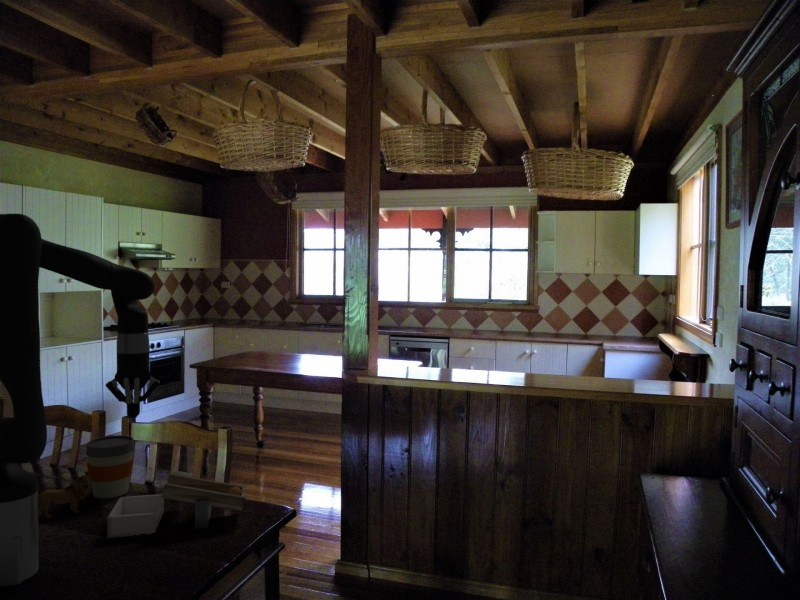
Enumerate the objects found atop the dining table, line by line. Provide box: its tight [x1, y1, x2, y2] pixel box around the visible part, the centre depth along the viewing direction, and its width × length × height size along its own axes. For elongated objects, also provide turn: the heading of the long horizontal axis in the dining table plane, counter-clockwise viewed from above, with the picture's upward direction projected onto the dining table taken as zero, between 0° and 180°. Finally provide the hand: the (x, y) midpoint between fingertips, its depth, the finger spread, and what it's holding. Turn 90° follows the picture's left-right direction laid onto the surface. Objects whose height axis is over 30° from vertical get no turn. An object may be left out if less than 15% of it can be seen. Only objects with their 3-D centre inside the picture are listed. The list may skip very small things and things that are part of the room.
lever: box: [161, 470, 247, 512], centre depth 147 cm, size 18×20×4 cm
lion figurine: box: [38, 474, 92, 519], centre depth 145 cm, size 15×5×9 cm, turn 130°
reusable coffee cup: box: [85, 435, 136, 499], centre depth 159 cm, size 13×13×15 cm
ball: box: [229, 487, 241, 496], centre depth 145 cm, size 3×3×3 cm
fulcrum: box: [194, 499, 213, 530], centre depth 143 cm, size 11×3×7 cm, turn 14°
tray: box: [106, 493, 165, 539], centre depth 139 cm, size 13×11×5 cm
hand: (133, 417), depth 140 cm, fingers closed
